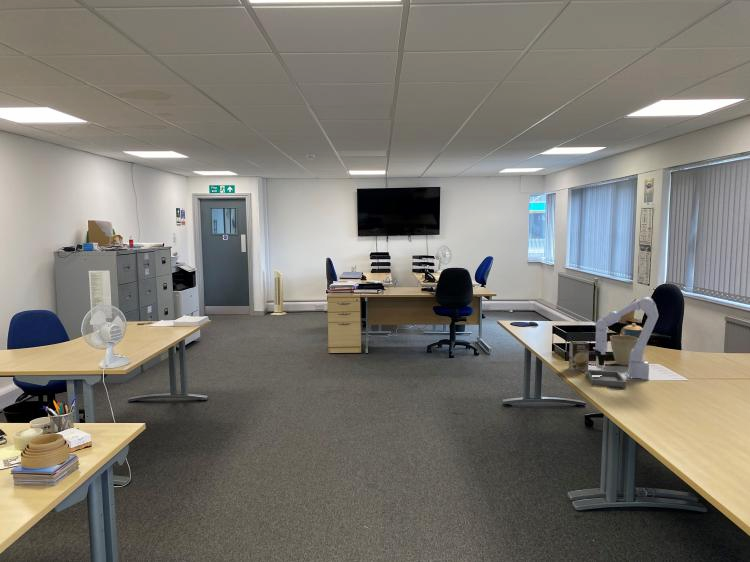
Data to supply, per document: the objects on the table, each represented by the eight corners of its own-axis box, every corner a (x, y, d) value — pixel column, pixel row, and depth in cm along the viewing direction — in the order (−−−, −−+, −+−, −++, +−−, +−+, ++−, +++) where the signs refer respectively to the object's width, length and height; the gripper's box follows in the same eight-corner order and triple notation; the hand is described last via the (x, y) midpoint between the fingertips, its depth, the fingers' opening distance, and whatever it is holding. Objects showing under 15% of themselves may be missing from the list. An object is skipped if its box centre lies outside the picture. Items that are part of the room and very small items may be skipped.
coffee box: (571, 371, 271) (572, 343, 270) (568, 367, 278) (569, 341, 276) (588, 371, 270) (589, 343, 269) (584, 368, 277) (585, 341, 275)
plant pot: (604, 360, 291) (605, 335, 290) (629, 360, 291) (630, 334, 289) (616, 367, 276) (617, 340, 275) (642, 367, 276) (643, 340, 274)
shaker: (604, 366, 269) (604, 355, 269) (605, 368, 265) (605, 357, 264) (595, 365, 270) (595, 355, 270) (596, 367, 266) (596, 357, 265)
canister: (626, 345, 327) (627, 320, 325) (647, 348, 317) (648, 322, 315) (618, 348, 319) (619, 323, 317) (639, 352, 309) (640, 325, 307)
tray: (618, 376, 259) (618, 371, 259) (625, 387, 242) (626, 381, 242) (586, 375, 264) (586, 369, 263) (591, 385, 246) (592, 379, 246)
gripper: (591, 337, 274) (590, 360, 275) (595, 343, 260) (594, 367, 262) (604, 337, 272) (604, 360, 274) (609, 343, 258) (608, 367, 260)
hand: (600, 364), depth 267 cm, fingers closed on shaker, 4 cm apart
